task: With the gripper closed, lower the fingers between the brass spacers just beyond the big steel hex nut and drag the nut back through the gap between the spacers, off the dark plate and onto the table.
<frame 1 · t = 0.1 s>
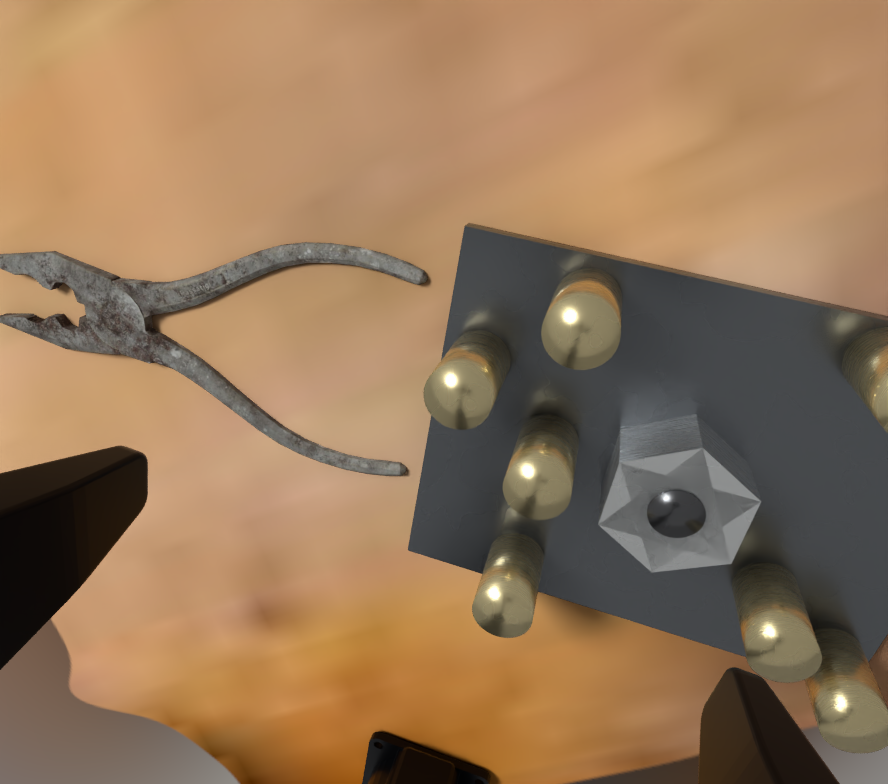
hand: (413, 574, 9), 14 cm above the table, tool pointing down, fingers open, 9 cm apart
spacer plate: (666, 477, 23), on the table
nut: (671, 475, 23), point 1 cm above the table, touching spacer plate
pliers: (216, 356, 27), on the table
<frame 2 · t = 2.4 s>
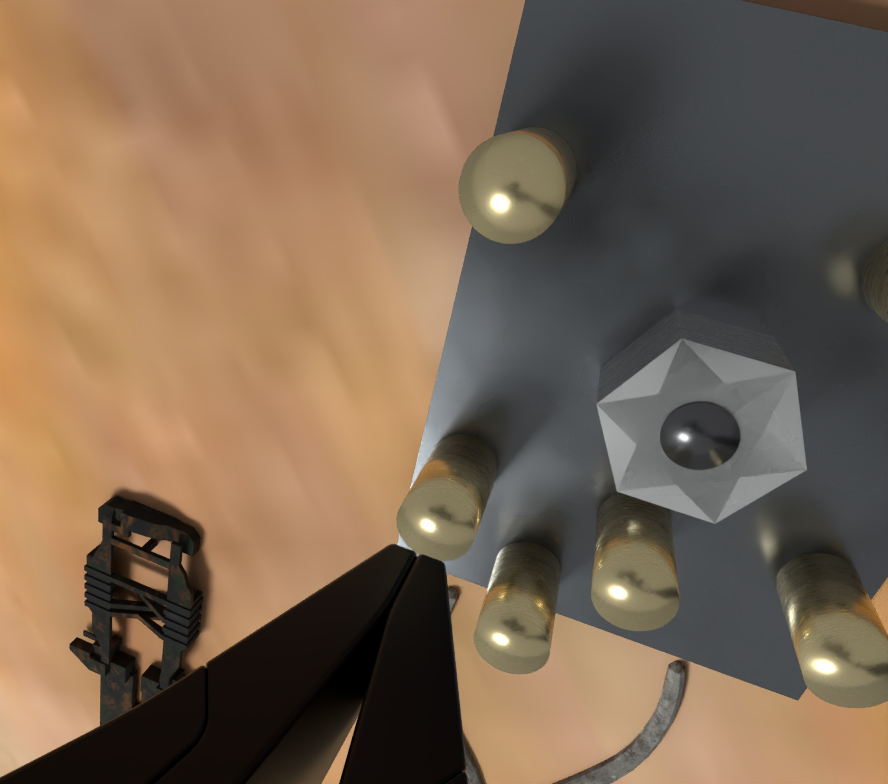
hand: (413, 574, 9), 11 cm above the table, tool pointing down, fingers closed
spacer plate: (706, 392, 18), on the table
nut: (690, 395, 17), point 1 cm above the table, touching spacer plate
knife: (156, 694, 32), on the table
pliers: (538, 775, 27), on the table
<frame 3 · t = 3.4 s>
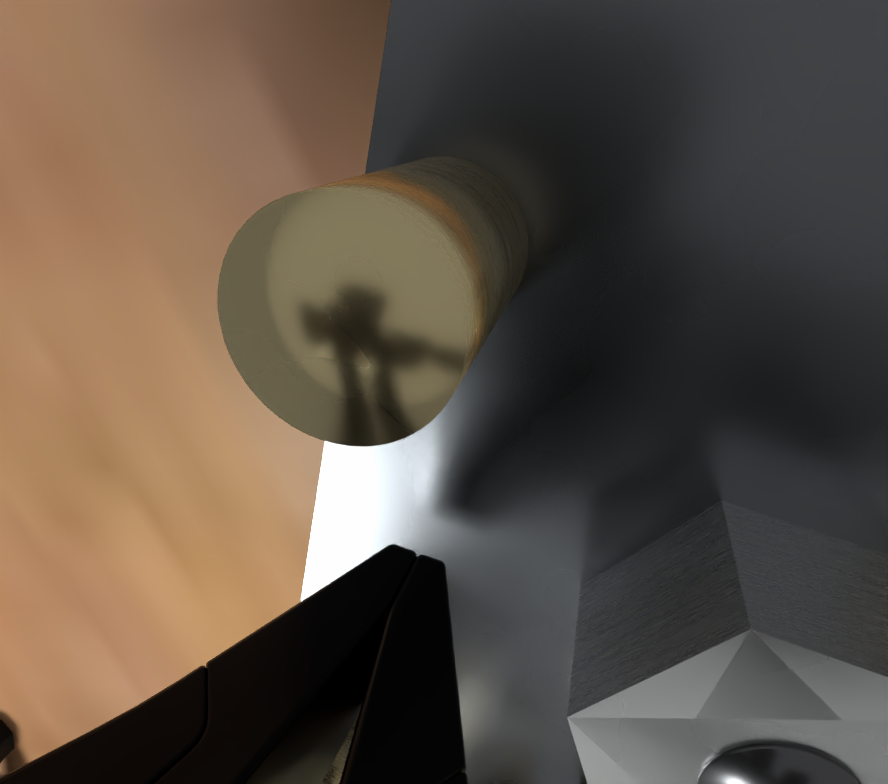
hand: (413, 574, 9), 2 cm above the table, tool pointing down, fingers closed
spacer plate: (772, 626, 10), on the table
nut: (746, 644, 9), point 1 cm above the table, touching spacer plate
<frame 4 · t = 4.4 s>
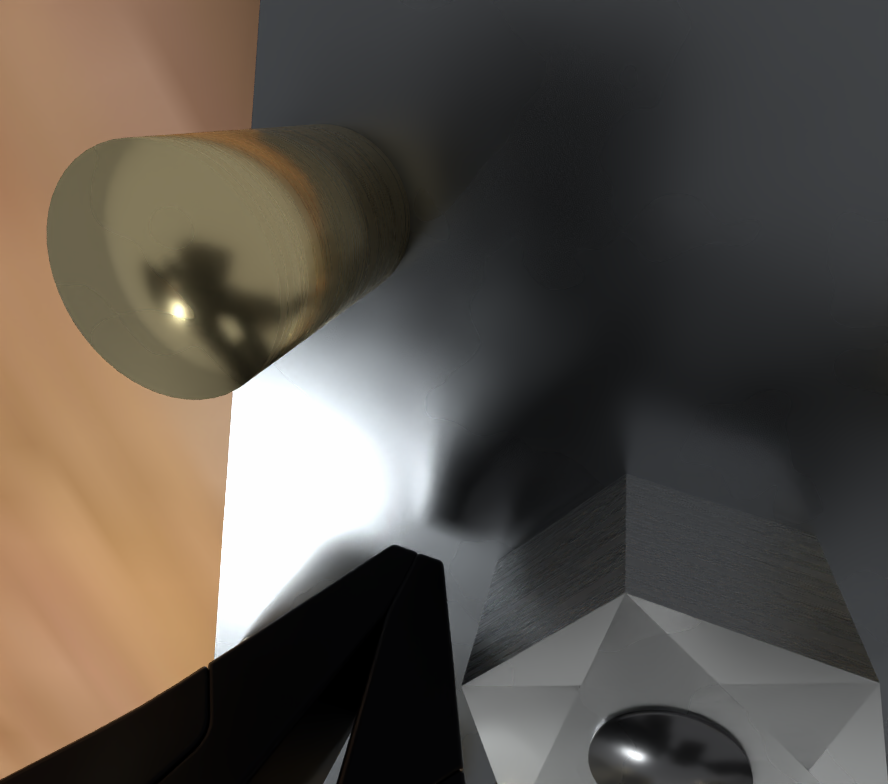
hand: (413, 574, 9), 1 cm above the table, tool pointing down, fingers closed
spacer plate: (675, 598, 10), on the table
nut: (659, 618, 10), point 1 cm above the table, touching gripper, spacer plate
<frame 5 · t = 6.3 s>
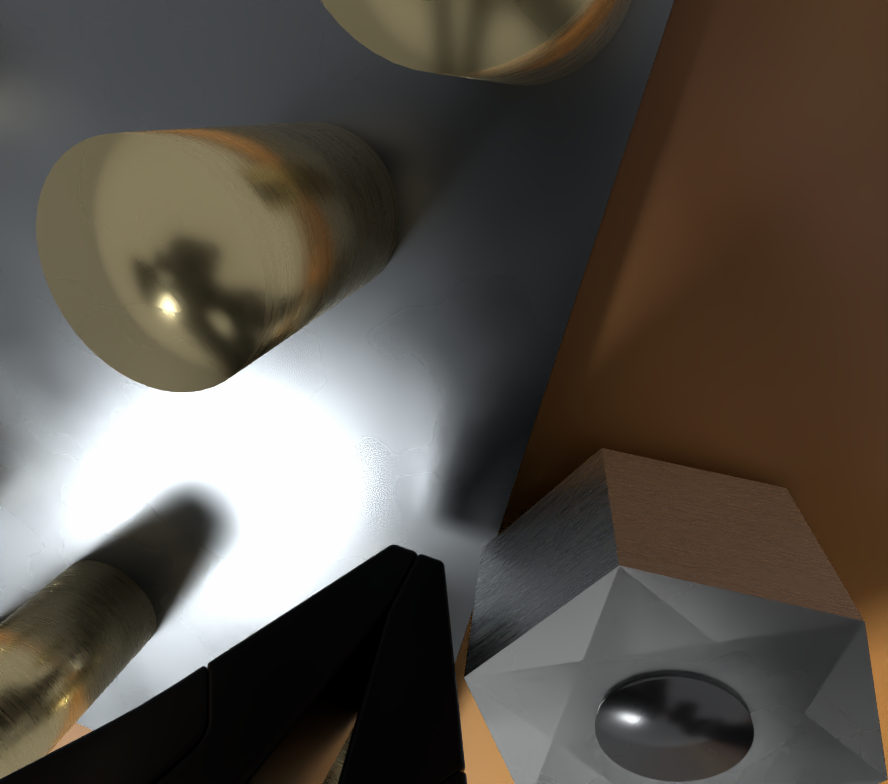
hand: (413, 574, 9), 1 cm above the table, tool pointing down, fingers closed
spacer plate: (150, 412, 11), on the table
nut: (644, 585, 10), on the table, tilted 7°, touching gripper, spacer plate
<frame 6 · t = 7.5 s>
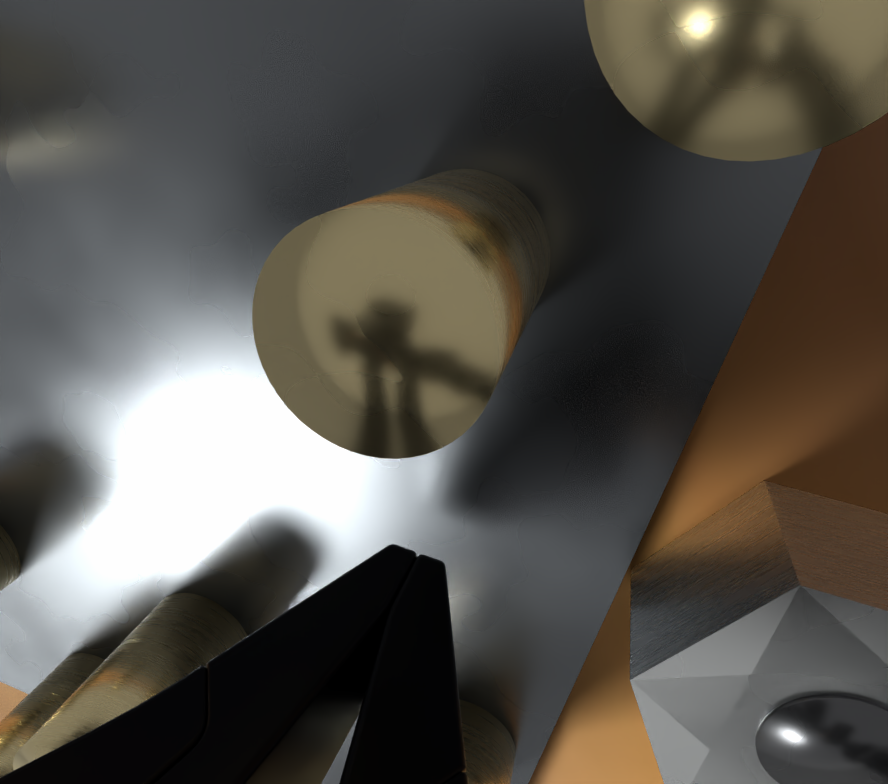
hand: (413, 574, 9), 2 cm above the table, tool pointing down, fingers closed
spacer plate: (257, 447, 11), on the table
nut: (792, 613, 10), on the table
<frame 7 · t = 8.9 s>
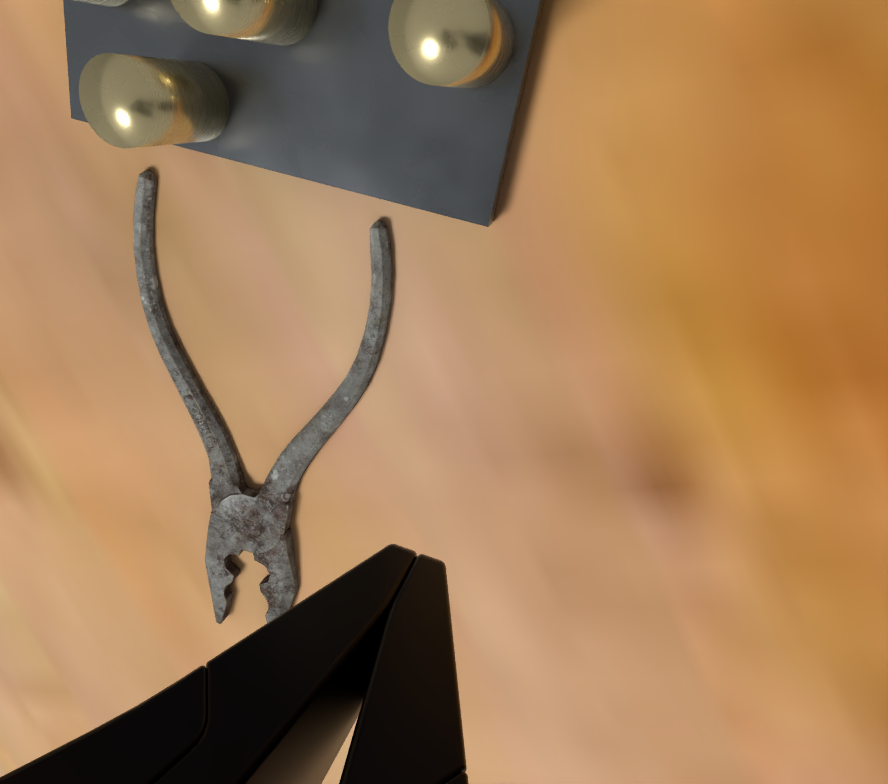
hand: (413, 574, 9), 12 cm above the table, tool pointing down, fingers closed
pliers: (292, 437, 25), on the table
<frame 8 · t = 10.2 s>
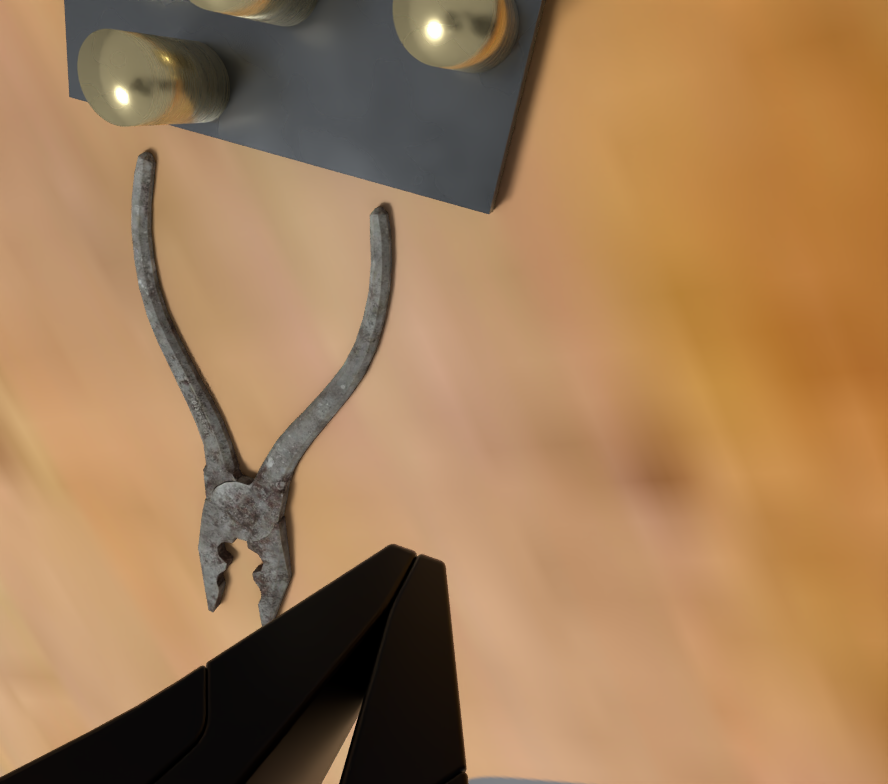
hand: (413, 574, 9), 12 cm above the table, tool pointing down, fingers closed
pliers: (288, 424, 25), on the table
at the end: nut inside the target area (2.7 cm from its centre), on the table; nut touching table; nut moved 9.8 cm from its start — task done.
